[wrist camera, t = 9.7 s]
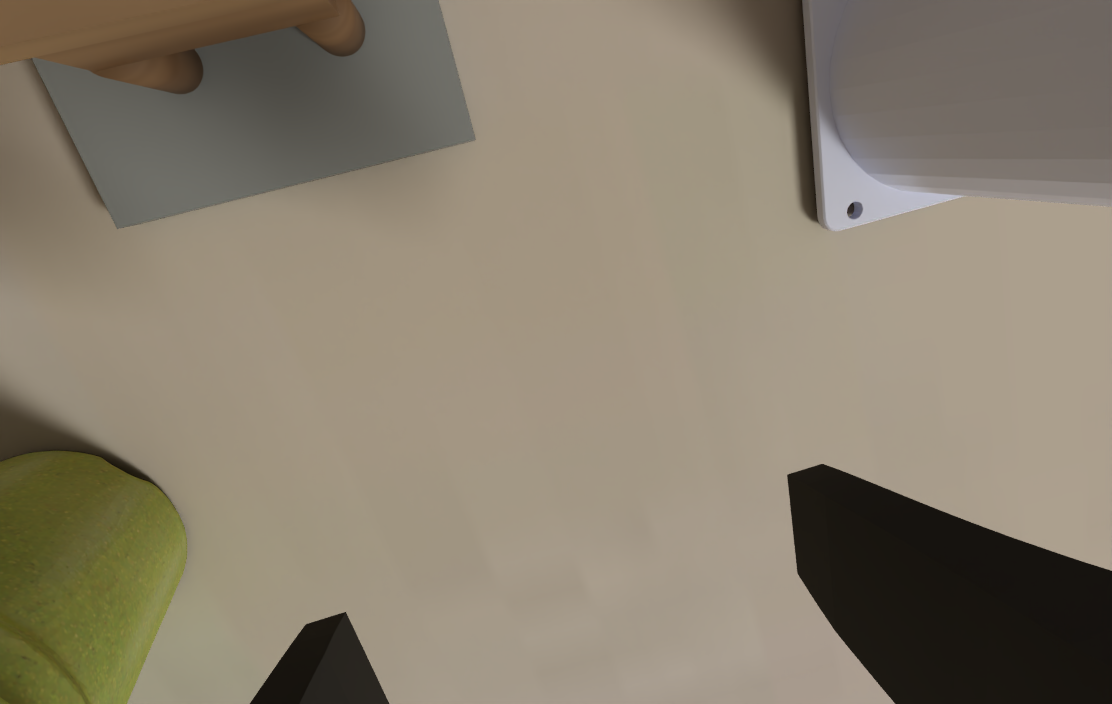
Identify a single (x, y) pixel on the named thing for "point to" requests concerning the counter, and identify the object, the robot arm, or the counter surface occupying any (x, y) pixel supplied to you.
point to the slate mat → (266, 114)
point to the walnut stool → (162, 33)
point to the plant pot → (81, 577)
